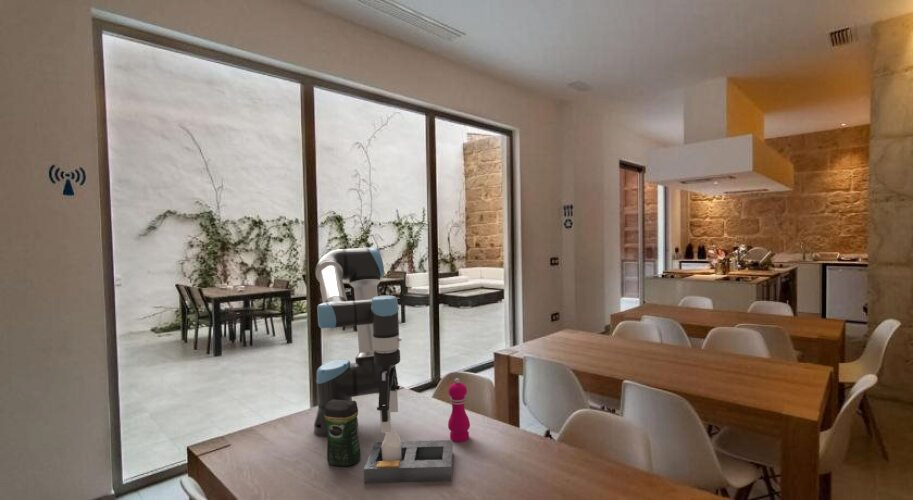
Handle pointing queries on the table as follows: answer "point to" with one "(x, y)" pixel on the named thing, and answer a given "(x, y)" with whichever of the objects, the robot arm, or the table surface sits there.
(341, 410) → the coffee jar
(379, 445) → the hole plate
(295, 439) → the table surface
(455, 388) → the pepper mill
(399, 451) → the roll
